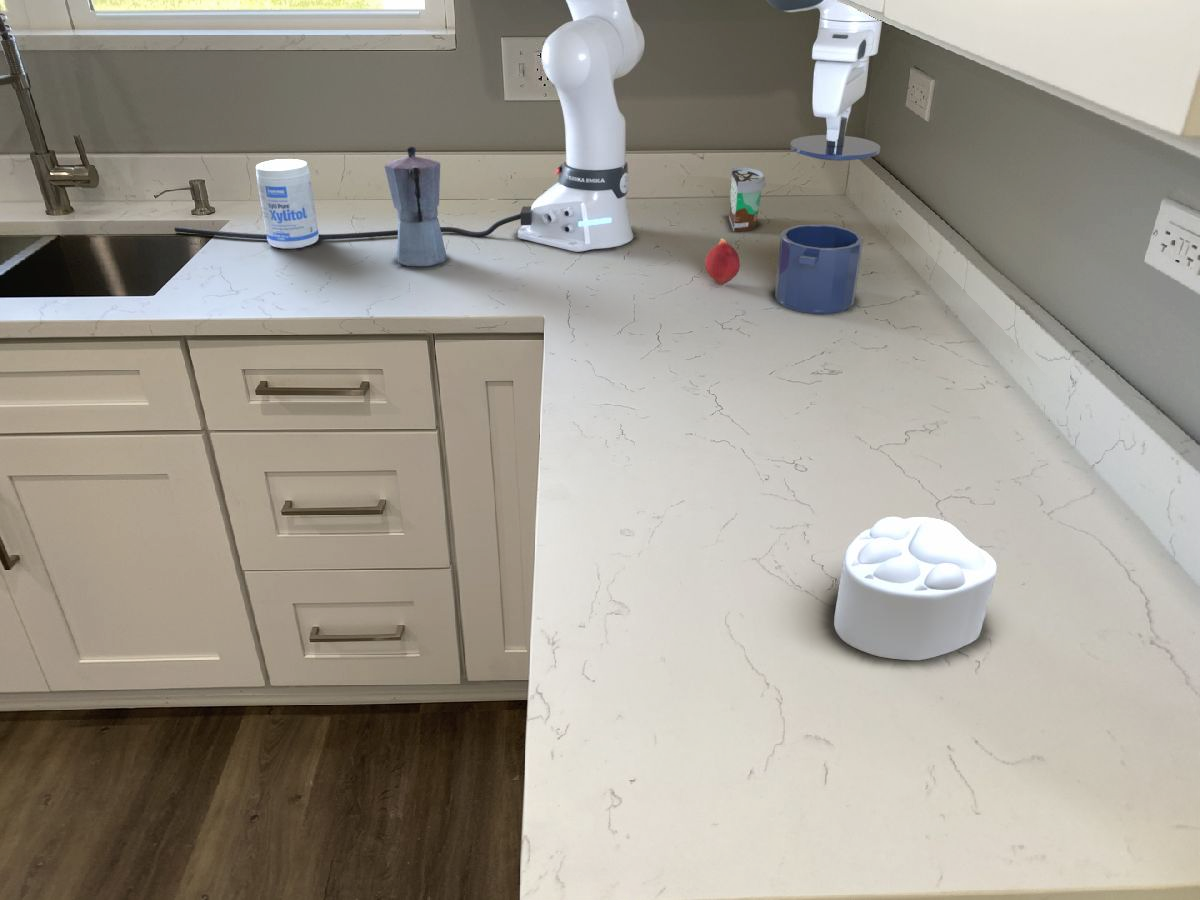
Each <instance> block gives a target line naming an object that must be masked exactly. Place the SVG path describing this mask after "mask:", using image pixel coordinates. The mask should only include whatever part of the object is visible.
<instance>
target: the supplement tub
mask: <svg viewBox="0 0 1200 900" xmlns="http://www.w3.org/2000/svg"><path fill="white" fill-rule="evenodd" d="M255 173H256V174H255V176H256V183H257V189H258V194H259V200H260V206H261V212H262V217H263V222H264V229H265V234H267V239H266V240H267V242H268V244H270V246H272V247H275V248H280V249H290V250H291V249H299V248H304V247H307V246H311V245H313V244H315V243H317V242H318V241H319V240H318V238H319V235H320V232H319V226H318V219H317V212H316V205H315V201H314V200H315V199H314V192H313V185H312V180H311V173H310V169H309V165H308V162H307V161H305V160H302V159H295V158H283V159H282V158H281V159H272V160H267V161H262V162H260V163H258V164H256V166H255Z"/></svg>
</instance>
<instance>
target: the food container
mask: <svg viewBox="0 0 1200 900" xmlns="http://www.w3.org/2000/svg"><path fill="white" fill-rule="evenodd" d="M764 175H765V174H764V172H762V171H761V170H758V169H755V168H750V167H744V166H731V169H730V188H729V189H730V191H729V206H728V219H729V222H730V225H731V228H732V230H733V232H745V231H750V230H753V229H755V228H756V226H757V222H758V217H759V211H760V205H761V204H760V203H761V197H762V190H764V189H765V188H766V185H767V184H766V177H765V176H764Z"/></svg>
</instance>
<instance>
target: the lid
mask: <svg viewBox="0 0 1200 900" xmlns="http://www.w3.org/2000/svg"><path fill="white" fill-rule="evenodd" d="M846 124H847V125H848V121H847V118H846V117H842V118H841V124H840V128H841V132H840V138H839V139H838V140H837V141H828V140H827V139H826V134H815V135H813V134H812V135H805V136H801V137H796V138H794V139H792V140H791V141H790V144H789V148H790V150H791V151H793V152H795V153H797V154H799V155H802V156H806V157H810V158H813V159H818V160H824V161H825V160H826V161H838V162H839V161H840V162H842V161H843V162H844V161H855V160H863V159H868V158H872V157H875V156H877V155H879V154H880V152H881V146H880V144H878V143H877V142H875V141H872V140H869V139H866V138H861V137H857V136H849V135H846V132H847V126H846ZM845 131H846V132H845Z"/></svg>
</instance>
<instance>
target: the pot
mask: <svg viewBox="0 0 1200 900" xmlns="http://www.w3.org/2000/svg"><path fill="white" fill-rule="evenodd" d="M779 236H780V237H779V238H780V239H779V245H778V256H777V266H776V275H775V276H776V278H775V287H774V298H775V301H776V302H777V303H778V304H779V305H781V306H783V307H785V308H787V309H790V310H792V311H797V312H802V313H807V314H817V315H823V314H825V315H826V314H827V315H828V314H835V313H840V312H844V311H847V310H849V309H851V307H852V306H853V305H854V303H855V300H856V293H857V287H858V280H859V273H860V265H861V260H862V259H861V258H862V251H863V245H864V238H863V236H862V235H861V233H858V232H856V231H855V230H853V229H850V228H846V227H842V225H837V224H831V223H830V224H829V223H826V224H824V223H823V224H821V223H820V224H819V223H818V224H817V223H816V224H815V223H812V224H810V223H809V224H800V225H793V226H790V227H788V228H785V229H783V230H782V232H781V233H780V235H779Z"/></svg>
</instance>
